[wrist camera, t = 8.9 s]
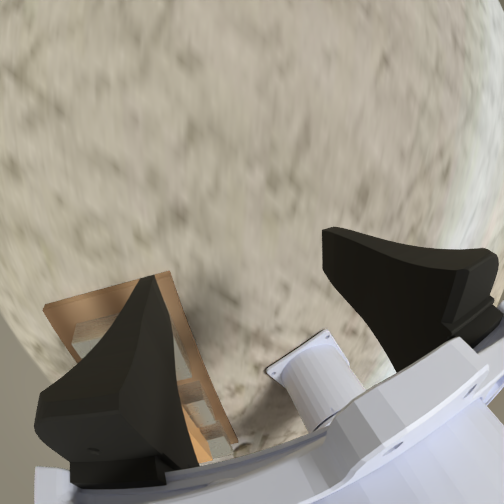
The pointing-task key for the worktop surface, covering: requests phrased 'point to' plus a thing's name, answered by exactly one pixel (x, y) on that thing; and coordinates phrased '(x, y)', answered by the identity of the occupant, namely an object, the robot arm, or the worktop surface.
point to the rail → (189, 393)
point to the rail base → (112, 302)
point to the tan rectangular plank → (198, 440)
